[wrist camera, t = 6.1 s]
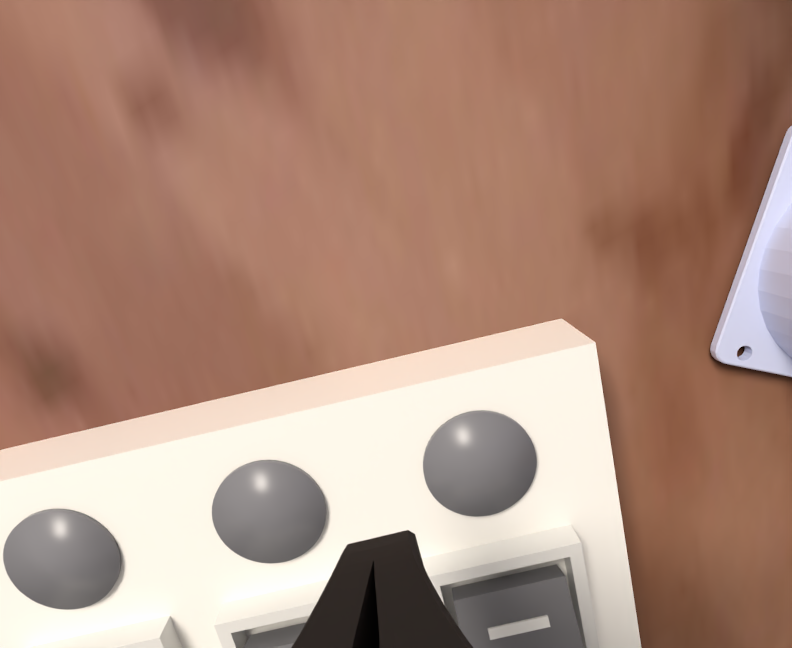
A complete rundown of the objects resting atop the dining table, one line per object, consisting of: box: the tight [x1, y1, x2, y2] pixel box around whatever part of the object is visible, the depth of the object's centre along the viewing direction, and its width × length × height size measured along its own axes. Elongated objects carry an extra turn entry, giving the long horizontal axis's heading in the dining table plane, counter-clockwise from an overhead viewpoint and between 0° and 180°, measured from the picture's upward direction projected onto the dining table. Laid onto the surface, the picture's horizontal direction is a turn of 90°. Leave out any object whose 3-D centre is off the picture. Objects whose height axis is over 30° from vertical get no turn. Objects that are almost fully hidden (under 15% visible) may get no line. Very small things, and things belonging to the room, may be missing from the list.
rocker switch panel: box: [0, 319, 641, 648], centre depth 19 cm, size 21×13×4 cm, turn 103°
